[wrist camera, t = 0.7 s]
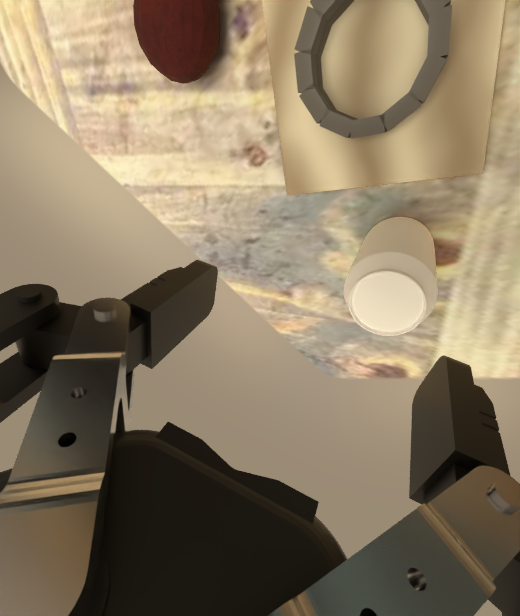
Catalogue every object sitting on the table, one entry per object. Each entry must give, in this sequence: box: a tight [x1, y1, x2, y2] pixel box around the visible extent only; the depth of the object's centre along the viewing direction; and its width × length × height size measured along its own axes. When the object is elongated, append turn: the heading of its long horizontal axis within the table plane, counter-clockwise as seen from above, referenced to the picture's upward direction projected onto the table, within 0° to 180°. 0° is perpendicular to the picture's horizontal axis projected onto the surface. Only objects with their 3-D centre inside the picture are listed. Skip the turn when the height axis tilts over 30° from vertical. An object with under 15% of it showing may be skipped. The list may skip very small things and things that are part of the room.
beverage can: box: [344, 217, 438, 336], centre depth 26 cm, size 6×6×12 cm
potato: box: [133, 0, 220, 83], centre depth 27 cm, size 7×8×6 cm
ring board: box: [262, 0, 505, 195], centre depth 23 cm, size 16×18×4 cm
